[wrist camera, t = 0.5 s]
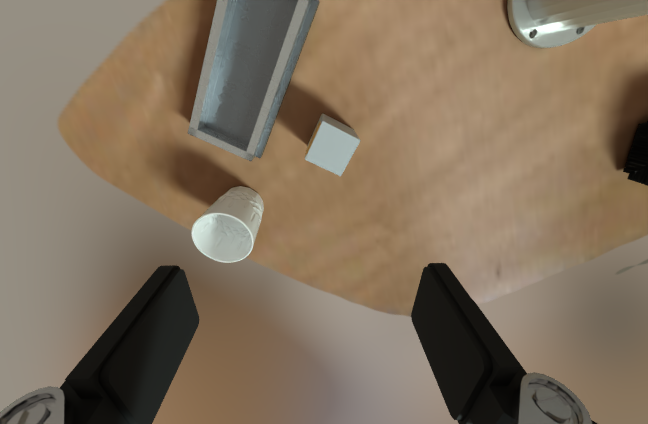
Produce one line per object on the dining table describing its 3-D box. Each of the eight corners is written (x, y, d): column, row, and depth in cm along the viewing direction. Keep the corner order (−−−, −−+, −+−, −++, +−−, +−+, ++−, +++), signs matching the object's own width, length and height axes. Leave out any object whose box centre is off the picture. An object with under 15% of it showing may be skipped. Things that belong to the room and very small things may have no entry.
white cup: (230, 228, 43) (207, 267, 34) (211, 187, 39) (180, 219, 31) (273, 219, 42) (261, 257, 34) (258, 177, 39) (240, 207, 30)
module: (321, 112, 34) (321, 120, 28) (353, 129, 35) (360, 140, 29) (306, 144, 36) (303, 158, 30) (337, 159, 37) (340, 176, 31)
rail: (234, -51, 26) (223, -68, 23) (319, 3, 28) (319, -6, 25) (194, 125, 35) (181, 130, 32) (261, 156, 37) (256, 163, 34)
